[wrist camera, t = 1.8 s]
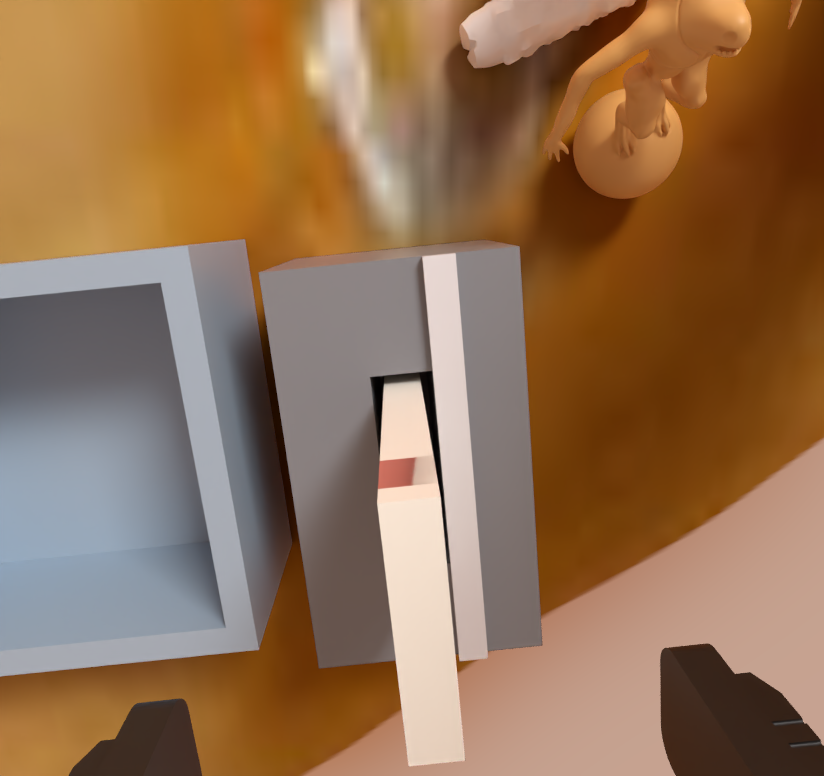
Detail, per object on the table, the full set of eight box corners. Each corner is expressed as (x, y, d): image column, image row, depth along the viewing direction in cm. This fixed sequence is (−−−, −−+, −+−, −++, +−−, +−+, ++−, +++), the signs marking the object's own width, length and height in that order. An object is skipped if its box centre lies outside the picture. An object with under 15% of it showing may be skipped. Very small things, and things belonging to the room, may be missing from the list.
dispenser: (295, 258, 28) (256, 273, 20) (484, 239, 28) (522, 246, 20) (337, 558, 31) (317, 675, 23) (505, 541, 31) (544, 652, 23)
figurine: (541, 243, 28) (646, 259, 17) (475, 111, 27) (538, 26, 15) (721, 143, 27) (963, 83, 16) (661, 0, 26) (879, -179, 14)
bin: (244, 239, 28) (187, 245, 20) (292, 543, 31) (258, 649, 23) (-89, 272, 28) (-277, 292, 20) (-6, 573, 31) (-138, 690, 23)
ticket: (386, 347, 28) (376, 503, 13) (414, 344, 28) (440, 497, 13) (400, 480, 30) (408, 766, 14) (427, 477, 30) (465, 760, 14)
